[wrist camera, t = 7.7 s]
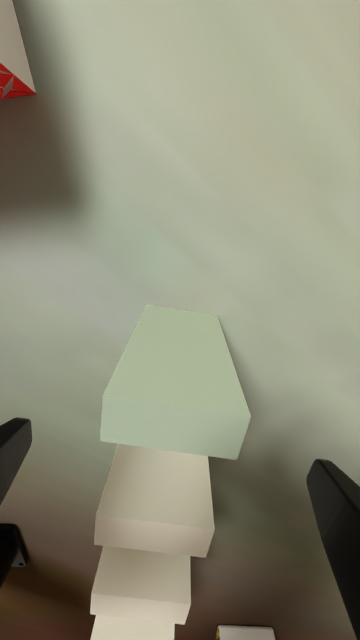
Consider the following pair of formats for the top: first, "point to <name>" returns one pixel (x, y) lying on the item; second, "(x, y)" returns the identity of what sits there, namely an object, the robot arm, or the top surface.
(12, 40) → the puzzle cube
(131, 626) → the tile
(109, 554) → the tile
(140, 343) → the tile
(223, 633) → the white block with post
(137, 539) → the tile
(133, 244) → the top surface
